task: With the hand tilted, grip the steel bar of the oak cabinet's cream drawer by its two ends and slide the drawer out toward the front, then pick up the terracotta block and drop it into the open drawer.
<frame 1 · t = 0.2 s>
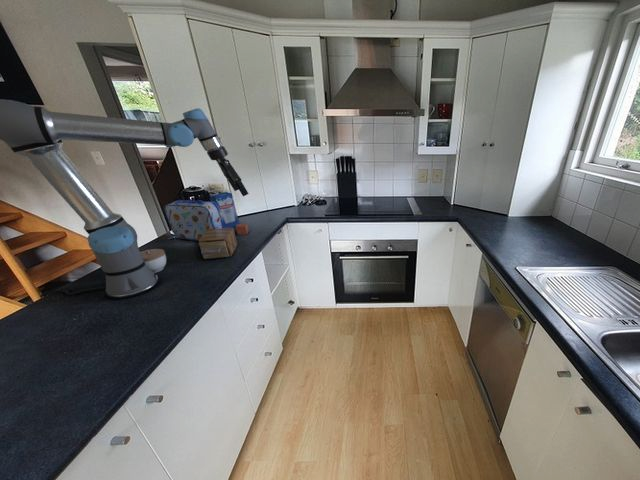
hand: (241, 192, 131), 28 cm above the worktop, tool tilted 20°, fingers open, 13 cm apart
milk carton: (228, 226, 169), on the worktop
cabinet: (221, 251, 136), on the worktop
block: (243, 233, 159), on the worktop
lunch box: (202, 238, 151), on the worktop
drawer: (216, 246, 129), point 5 cm above the worktop, slide at 1.0 cm
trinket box: (155, 270, 119), on the worktop
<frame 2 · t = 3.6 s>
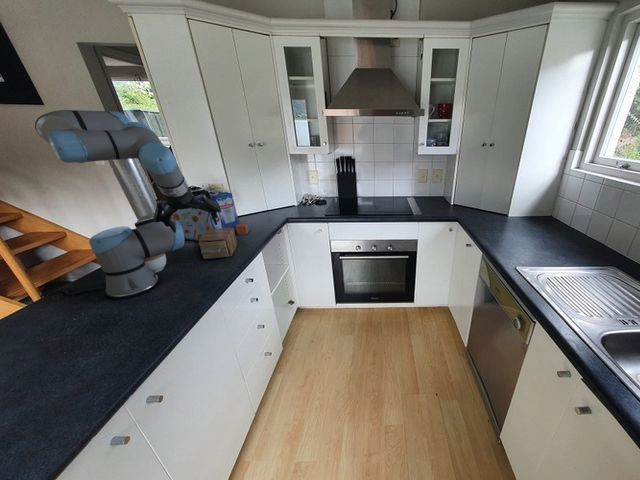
hand: (195, 225, 104), 22 cm above the worktop, tool tilted 40°, fingers open, 13 cm apart
nothing on the worktop moved.
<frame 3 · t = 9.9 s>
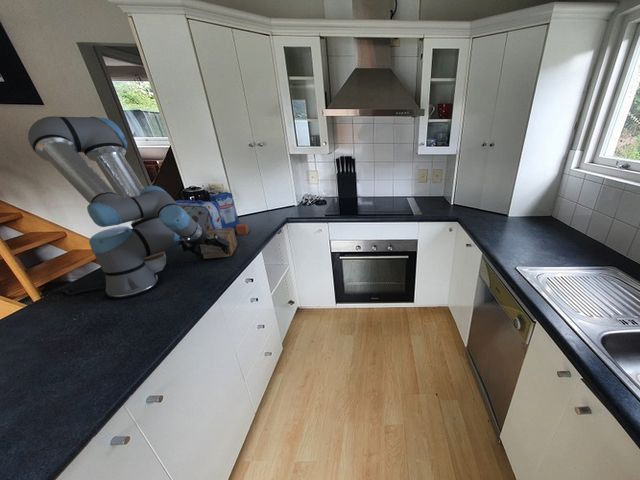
hand: (213, 252, 125), 4 cm above the worktop, tool tilted 45°, fingers closed on drawer, 10 cm apart
drawer: (216, 246, 130), point 5 cm above the worktop, slide at 0.9 cm, touching gripper
everything else where it was.
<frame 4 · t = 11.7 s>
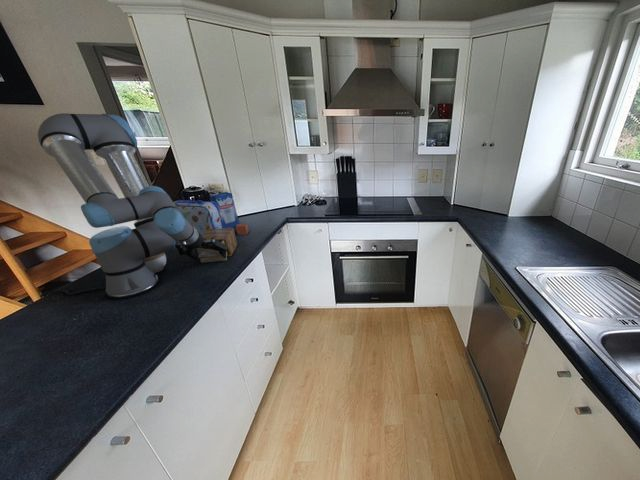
hand: (211, 256, 122), 4 cm above the worktop, tool tilted 45°, fingers closed on drawer, 10 cm apart
drawer: (214, 250, 126), point 5 cm above the worktop, slide at 4.9 cm, touching gripper
everything else where it was.
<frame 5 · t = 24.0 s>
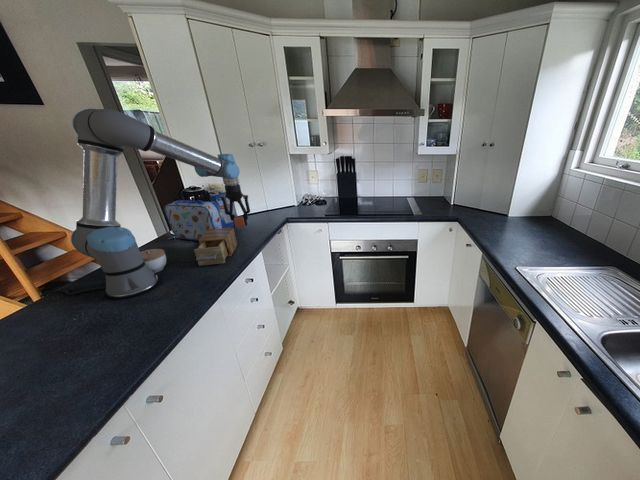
hand: (240, 225, 156), 5 cm above the worktop, tool pointing down, fingers closed on block, 5 cm apart
block: (241, 225, 156), point 4 cm above the worktop, touching gripper
drawer: (212, 252, 124), point 5 cm above the worktop, slide at 7.8 cm
everything else where it was.
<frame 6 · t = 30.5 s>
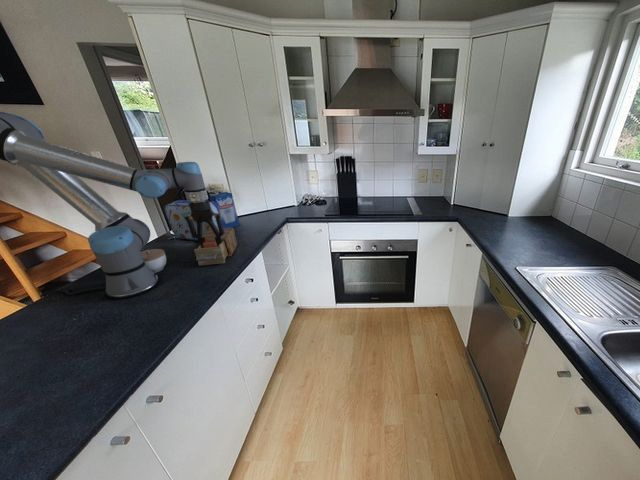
hand: (213, 250, 125), 5 cm above the worktop, tool pointing down, fingers closed on block, 5 cm apart
block: (213, 251, 125), point 5 cm above the worktop, touching gripper
everything else where it was.
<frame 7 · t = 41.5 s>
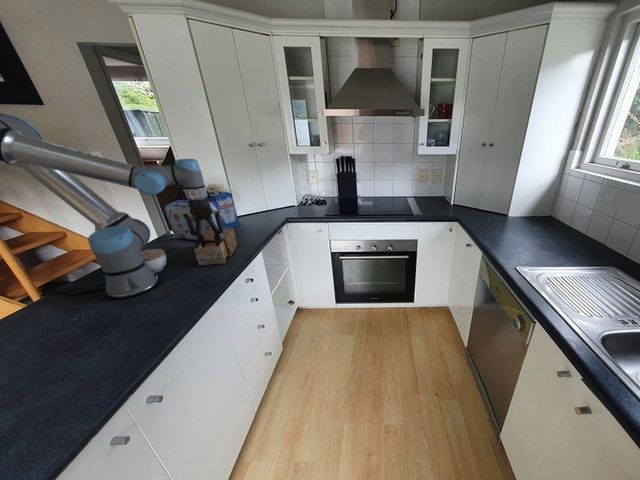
hand: (212, 248, 124), 6 cm above the worktop, tool pointing down, fingers closed on block, 5 cm apart
block: (214, 254, 126), point 3 cm above the worktop, touching gripper
everything else where it was.
when the fingers open (8 cm above the worktop, at t = 42.2 s): block drops 3 cm, resting on drawer.
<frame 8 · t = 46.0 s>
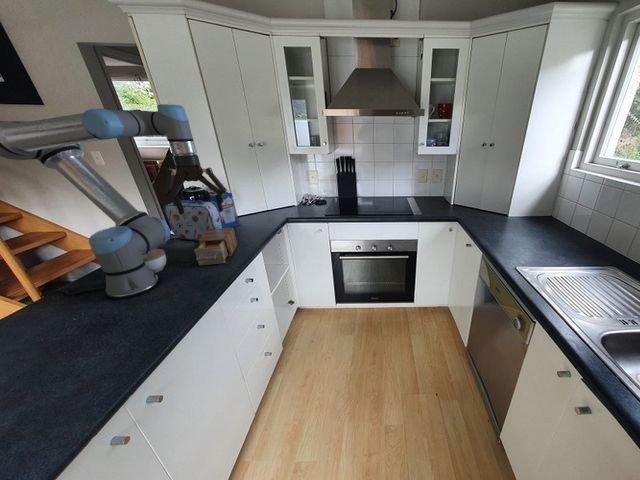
hand: (202, 212, 106), 27 cm above the worktop, tool pointing down, fingers open, 13 cm apart
block: (214, 256, 126), point 2 cm above the worktop, touching drawer
drawer: (212, 252, 124), point 5 cm above the worktop, slide at 7.6 cm, touching block
everything else where it was.
at the end: drawer slide at 7.6 cm; block inside the target area in the drawer (0.2 cm from its centre), point 2.0 cm above the cabinet's base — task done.
